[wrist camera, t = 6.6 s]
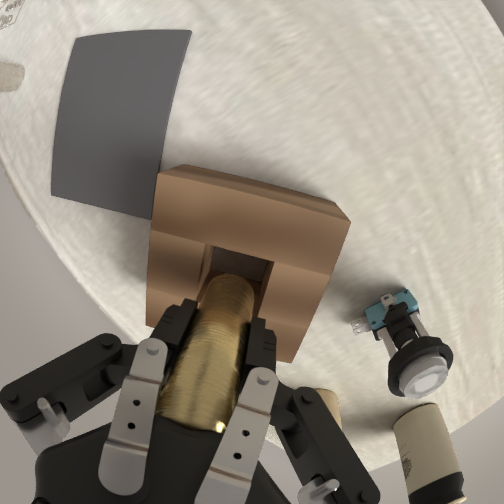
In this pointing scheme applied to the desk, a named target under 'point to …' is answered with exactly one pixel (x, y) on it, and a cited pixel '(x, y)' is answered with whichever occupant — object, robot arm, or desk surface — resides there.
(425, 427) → the travel mug
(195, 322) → the pin
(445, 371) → the push button
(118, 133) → the mat
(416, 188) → the desk surface
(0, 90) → the milkshake
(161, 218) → the socket block
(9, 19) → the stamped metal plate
